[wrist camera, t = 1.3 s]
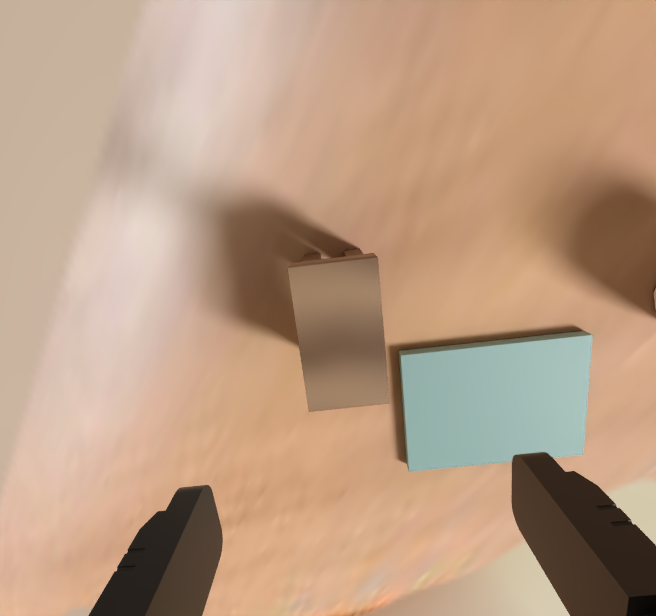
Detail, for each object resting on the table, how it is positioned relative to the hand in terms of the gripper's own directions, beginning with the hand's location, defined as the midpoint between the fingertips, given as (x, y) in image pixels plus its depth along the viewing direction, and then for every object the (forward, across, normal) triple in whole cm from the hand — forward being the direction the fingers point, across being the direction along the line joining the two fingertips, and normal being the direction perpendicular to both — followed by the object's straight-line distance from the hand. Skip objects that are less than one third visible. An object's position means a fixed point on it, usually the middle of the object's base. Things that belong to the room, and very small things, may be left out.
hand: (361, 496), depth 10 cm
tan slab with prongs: (+20, 0, 0) cm, 20 cm away
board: (+20, -12, +10) cm, 25 cm away
